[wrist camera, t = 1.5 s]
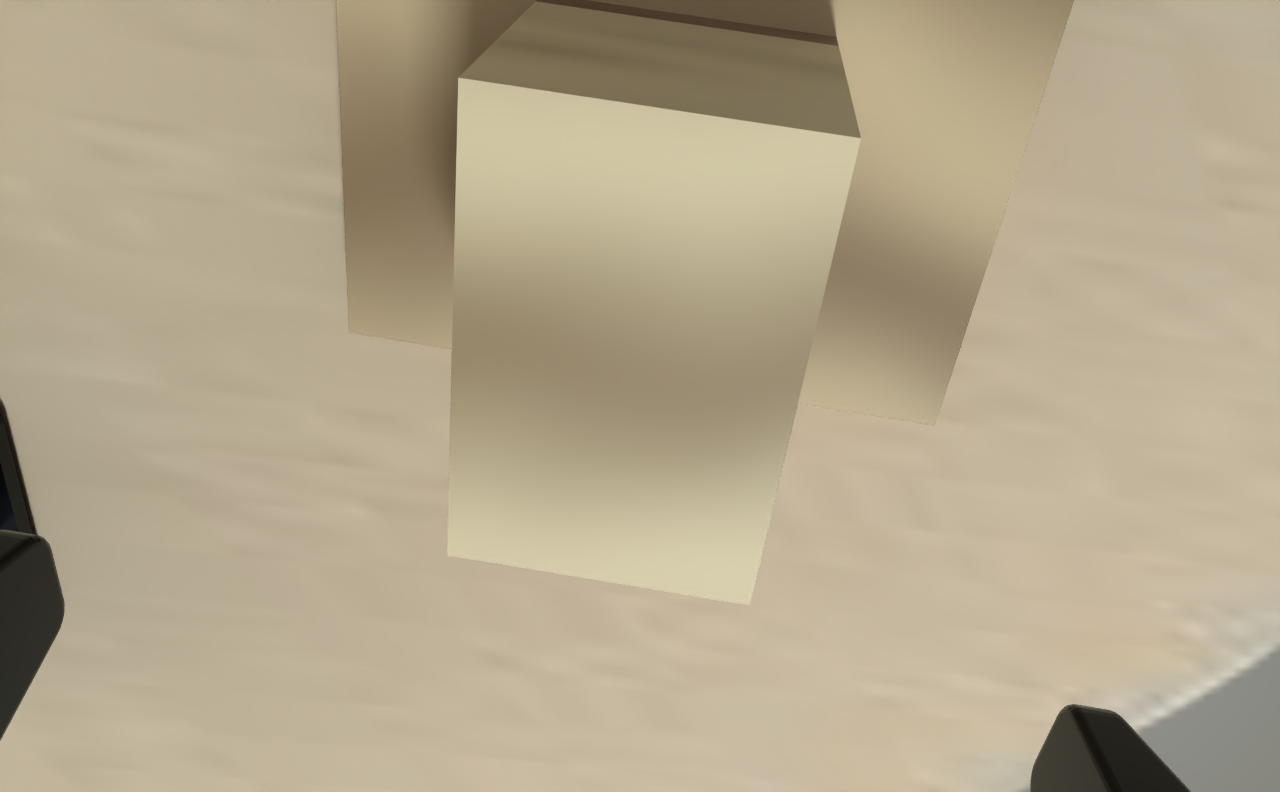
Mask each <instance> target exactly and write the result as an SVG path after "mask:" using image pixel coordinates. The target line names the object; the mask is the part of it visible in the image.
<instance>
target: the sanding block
mask: <svg viewBox="0 0 1280 792" xmlns="http://www.w3.org/2000/svg"><path fill="white" fill-rule="evenodd" d="M860 141H861V136H860V131H859V127H858V123H857V119H856V115H855V111H854V107H853V103H852V98H851V94H850V90H849V86H848V82H847V78H846V74H845V70H844V66H843V61H842V57H841V53H840V49H839V45H838V41H837V37H833V36H826V35H819V34H813V33H806V32H799V31H792V30H786V29H779V28H772V27H765V26H758V25H752V24H745V23H738V22H731V21H725V20H718V19H711V18H704V17H697V16H691V15H684V14H677V13H670V12H664V11H657V10H650V9H643V8H637V7H630V6H623V5H616V4H609V3H603V2H596V1H589V0H537V1H536V2H534V3H533V4H532V5H531V6H530V7H529V8H528V9H527V10H526V11H525V12H524V13H523V14H522V15H521V16H520V17H519V18H518V19H517V20H516V21H515V22H514V23H513V24H512V25H511V26H510V27H509V28H508V29H507V30H506V31H505V32H504V33H503V34H502V35H501V36H500V37H499V38H498V39H497V40H496V41H495V42H494V43H493V44H492V45H491V46H490V47H489V48H488V49H487V50H486V51H485V52H484V53H483V54H482V55H481V56H480V57H479V58H478V59H477V60H476V61H475V62H474V63H473V64H472V65H471V66H470V67H469V68H468V69H466V70H465V71H464V72H463V73H462V74H461V75H460V76H459V77H458V109H457V152H456V195H455V238H454V281H453V324H452V367H451V411H450V454H449V497H448V540H447V555H448V556H454V557H460V558H466V559H472V560H478V561H484V562H490V563H496V564H502V565H508V566H514V567H520V568H526V569H533V570H539V571H545V572H551V573H557V574H563V575H569V576H575V577H581V578H587V579H593V580H599V581H605V582H611V583H617V584H623V585H629V586H635V587H642V588H648V589H654V590H660V591H666V592H672V593H678V594H684V595H690V596H696V597H702V598H708V599H714V600H720V601H726V602H732V603H738V604H745V605H750V603H751V598H752V594H753V590H754V586H755V582H756V578H757V573H758V569H759V565H760V561H761V557H762V552H763V548H764V544H765V540H766V536H767V531H768V527H769V523H770V519H771V515H772V510H773V506H774V502H775V498H776V494H777V489H778V485H779V481H780V477H781V473H782V468H783V464H784V460H785V456H786V452H787V447H788V443H789V439H790V435H791V431H792V426H793V422H794V418H795V414H796V410H797V405H798V401H799V397H800V393H801V389H802V384H803V380H804V376H805V372H806V368H807V364H808V359H809V355H810V351H811V347H812V343H813V338H814V334H815V330H816V326H817V322H818V317H819V313H820V309H821V305H822V301H823V296H824V292H825V288H826V284H827V280H828V275H829V271H830V267H831V263H832V259H833V254H834V250H835V246H836V242H837V238H838V233H839V229H840V225H841V221H842V217H843V212H844V208H845V204H846V200H847V196H848V191H849V187H850V183H851V179H852V175H853V171H854V166H855V162H856V158H857V154H858V150H859V145H860Z"/></svg>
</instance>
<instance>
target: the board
mask: <svg viewBox="0 0 1280 792" xmlns="http://www.w3.org/2000/svg"><path fill="white" fill-rule="evenodd" d="M536 1H537V0H336V8H337V34H338V60H339V87H340V113H341V139H342V165H343V191H344V218H345V244H346V270H347V296H348V323H349V333H353V334H359V335H366V336H372V337H378V338H385V339H391V340H397V341H403V342H410V343H416V344H422V345H429V346H435V347H441V348H448V349H452V324H453V281H454V238H455V195H456V152H457V109H458V77H459V76H460V75H461V74H462V73H463V72H464V71H465V70H466V69H468V68H469V67H470V66H471V65H472V64H473V63H474V62H475V61H476V60H477V59H478V58H479V57H480V56H481V55H482V54H483V53H484V52H485V51H486V50H487V49H488V48H489V47H490V46H491V45H492V44H493V43H494V42H495V41H496V40H497V39H498V38H499V37H500V36H501V35H502V34H503V33H504V32H505V31H506V30H507V29H508V28H509V27H510V26H511V25H512V24H513V23H514V22H515V21H516V20H517V19H518V18H519V17H520V16H521V15H522V14H523V13H524V12H525V11H526V10H527V9H528V8H529V7H530V6H531V5H532V4H533V3H534V2H536ZM589 1H596V2H603V3H609V4H616V5H623V6H630V7H637V8H643V9H650V10H657V11H664V12H670V13H677V14H684V15H691V16H697V17H704V18H711V19H718V20H725V21H731V22H738V23H745V24H752V25H758V26H765V27H772V28H779V29H786V30H792V31H799V32H806V33H813V34H819V35H826V36H833V37H837V41H838V45H839V49H840V53H841V57H842V61H843V66H844V70H845V74H846V78H847V82H848V86H849V90H850V94H851V98H852V103H853V107H854V111H855V115H856V119H857V123H858V127H859V131H860V136H861V141H860V145H859V150H858V154H857V158H856V162H855V166H854V171H853V175H852V179H851V183H850V187H849V191H848V196H847V200H846V204H845V208H844V212H843V217H842V221H841V225H840V229H839V233H838V238H837V242H836V246H835V250H834V254H833V259H832V263H831V267H830V271H829V275H828V280H827V284H826V288H825V292H824V296H823V301H822V305H821V309H820V313H819V317H818V322H817V326H816V330H815V334H814V338H813V343H812V347H811V351H810V355H809V359H808V364H807V368H806V372H805V376H804V380H803V384H802V389H801V393H800V397H799V401H798V404H800V405H806V406H813V407H819V408H825V409H832V410H838V411H844V412H851V413H857V414H863V415H869V416H876V417H882V418H888V419H895V420H901V421H907V422H913V423H920V424H926V425H932V426H935V423H936V420H937V417H938V414H939V411H940V408H941V405H942V402H943V399H944V396H945V393H946V390H947V387H948V384H949V381H950V377H951V374H952V371H953V368H954V365H955V362H956V359H957V356H958V353H959V350H960V347H961V344H962V341H963V338H964V335H965V332H966V329H967V326H968V323H969V319H970V316H971V313H972V310H973V307H974V304H975V301H976V298H977V295H978V292H979V289H980V286H981V283H982V280H983V277H984V274H985V271H986V268H987V265H988V261H989V258H990V255H991V252H992V249H993V246H994V243H995V240H996V237H997V234H998V231H999V228H1000V225H1001V222H1002V219H1003V216H1004V213H1005V210H1006V207H1007V203H1008V200H1009V197H1010V194H1011V191H1012V188H1013V185H1014V182H1015V179H1016V176H1017V173H1018V170H1019V167H1020V164H1021V161H1022V158H1023V155H1024V152H1025V148H1026V145H1027V142H1028V139H1029V136H1030V133H1031V130H1032V127H1033V124H1034V121H1035V118H1036V115H1037V112H1038V109H1039V106H1040V103H1041V100H1042V97H1043V94H1044V90H1045V87H1046V84H1047V81H1048V78H1049V75H1050V72H1051V69H1052V66H1053V63H1054V60H1055V57H1056V54H1057V51H1058V48H1059V45H1060V42H1061V39H1062V36H1063V32H1064V29H1065V26H1066V23H1067V20H1068V17H1069V14H1070V11H1071V8H1072V5H1073V2H1074V0H589Z"/></svg>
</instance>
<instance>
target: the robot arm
mask: <svg viewBox="0 0 1280 792" xmlns="http://www.w3.org/2000/svg"><path fill="white" fill-rule="evenodd" d="M63 617H64V598H63V594H62V590H61V586H60V582H59V578H58V574H57V570H56V566H55V562H54V558H53V554H52V550H51V547H50V545H49V543H48V542H47V541H46V540H45V539H44V538H43V537H41V536H39V535H35V534H33V533H32V530H31V526H30V522H29V518H28V514H27V510H26V506H25V502H24V498H23V494H22V490H21V487H20V483H19V479H18V475H17V471H16V467H15V463H14V459H13V455H12V451H11V448H10V444H9V440H8V436H7V432H6V428H5V424H4V421H3V419H2V417H1V415H0V740H1V739H2V737H3V735H4V733H5V731H6V729H7V727H8V725H9V724H10V722H11V720H12V718H13V716H14V714H15V712H16V711H17V709H18V707H19V705H20V703H21V701H22V699H23V697H24V696H25V694H26V692H27V690H28V688H29V686H30V684H31V683H32V681H33V679H34V677H35V675H36V673H37V671H38V669H39V668H40V666H41V664H42V662H43V660H44V658H45V656H46V654H47V653H48V651H49V649H50V647H51V645H52V643H53V641H54V640H55V638H56V636H57V634H58V632H59V630H60V627H61V624H62V621H63ZM1030 790H1031V792H1191V791H1190V790H1189V789H1188V788H1187V787H1186V786H1185V784H1184V783H1183V782H1182V781H1181V780H1180V779H1179V778H1178V777H1177V776H1176V775H1175V774H1174V773H1173V772H1172V770H1171V769H1170V768H1169V767H1168V766H1167V765H1166V764H1165V763H1164V762H1163V761H1162V760H1161V759H1160V758H1159V757H1158V755H1157V754H1156V753H1155V752H1154V751H1153V750H1152V749H1151V748H1150V747H1149V746H1148V745H1147V743H1146V742H1145V741H1144V740H1143V739H1142V738H1141V737H1140V736H1139V735H1138V734H1137V733H1136V732H1135V731H1134V729H1133V728H1132V727H1131V726H1130V725H1129V724H1128V723H1127V722H1126V721H1125V720H1124V719H1123V718H1122V717H1121V716H1120V715H1118V714H1117V713H1115V712H1113V711H1110V710H1106V709H1100V708H1094V707H1088V706H1082V705H1076V704H1072V705H1067V706H1065V707H1064V708H1063V709H1062V710H1061V711H1060V713H1059V714H1058V716H1057V718H1056V720H1055V722H1054V724H1053V726H1052V728H1051V730H1050V732H1049V734H1048V736H1047V738H1046V740H1045V742H1044V744H1043V746H1042V748H1041V751H1040V753H1039V755H1038V757H1037V759H1036V761H1035V763H1034V766H1033V770H1032V774H1031V787H1030Z"/></svg>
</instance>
